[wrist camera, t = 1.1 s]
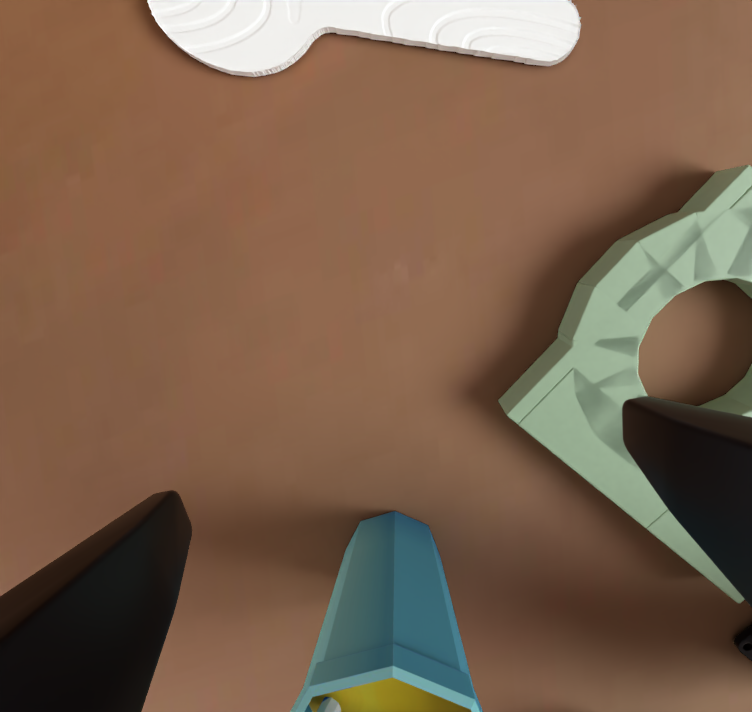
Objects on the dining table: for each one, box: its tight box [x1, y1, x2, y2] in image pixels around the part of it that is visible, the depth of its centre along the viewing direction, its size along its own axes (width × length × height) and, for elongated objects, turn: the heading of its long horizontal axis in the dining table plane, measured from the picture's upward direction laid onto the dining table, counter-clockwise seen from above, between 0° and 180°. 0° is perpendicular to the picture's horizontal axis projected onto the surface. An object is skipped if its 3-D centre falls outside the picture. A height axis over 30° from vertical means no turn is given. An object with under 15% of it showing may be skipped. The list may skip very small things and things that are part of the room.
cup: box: [290, 511, 483, 712], centre depth 19 cm, size 14×8×15 cm, turn 88°
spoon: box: [148, 0, 581, 77], centre depth 19 cm, size 5×18×1 cm, turn 84°
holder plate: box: [498, 165, 752, 603], centre depth 22 cm, size 17×14×2 cm
